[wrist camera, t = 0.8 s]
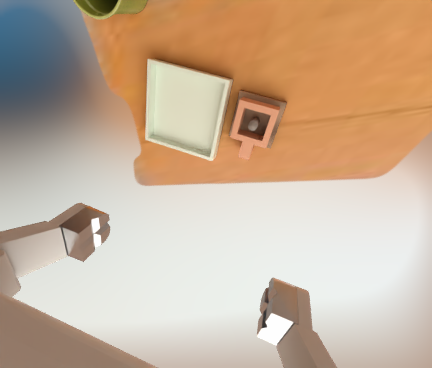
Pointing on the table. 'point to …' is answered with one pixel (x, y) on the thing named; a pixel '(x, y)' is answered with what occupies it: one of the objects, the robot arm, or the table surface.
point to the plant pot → (110, 7)
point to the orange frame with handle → (249, 137)
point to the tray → (185, 108)
